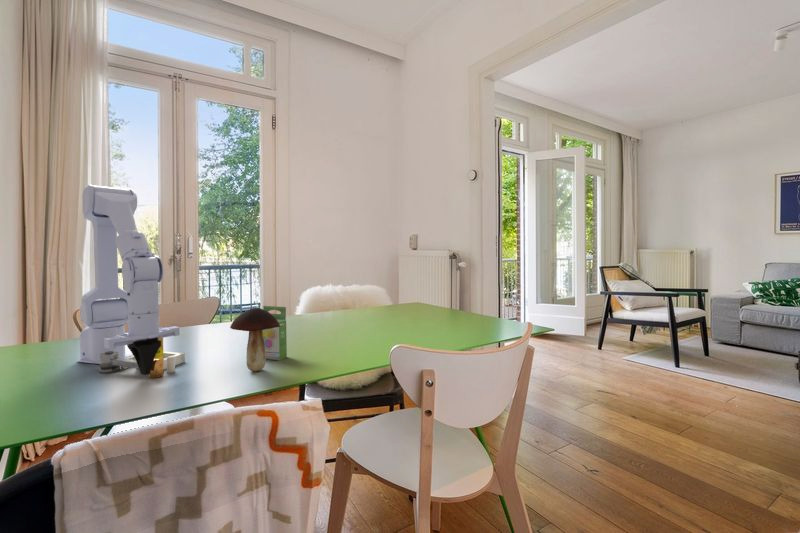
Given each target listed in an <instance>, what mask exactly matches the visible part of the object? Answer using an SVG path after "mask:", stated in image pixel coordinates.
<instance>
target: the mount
mask: <svg viewBox="0 0 800 533" xmlns="http://www.w3.org/2000/svg"><path fill="white" fill-rule="evenodd" d="M119 371H121V369H120V366H119V367H117V368H113V369H106V370H102V369H100V367H99V368H98V373H99V374H103V375H105V374H113V373H117V372H119Z"/></svg>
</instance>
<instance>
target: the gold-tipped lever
mask: <svg viewBox="0 0 800 533" xmlns="http://www.w3.org/2000/svg"><path fill="white" fill-rule="evenodd" d="M99 356H100V364H99V368H100V369H102V370H106V369H113V368H117V367H119V366H124V367H129V368H133V369H135V368H136V369H139V367H138V364H137V361H136V360H131V359H122V358H119V352H113V351H107V352H105V353H102V354H100V355H99ZM164 375H165V369H164V358H161V357H159V358H154V360H153V363H152V366H151V371H150V374H149V378H160V377H162V376H164Z"/></svg>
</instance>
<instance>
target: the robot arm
mask: <svg viewBox="0 0 800 533" xmlns="http://www.w3.org/2000/svg"><path fill="white" fill-rule="evenodd" d="M81 198H82V215H83V218H84V219H86V220H87V221H90V222H91V224H92V229H93V253H94V254H93V255H94V256H93V258H94V282H95V283H94V287H93V288H92V289H90V290H89V291H87V292H85V293H84V294H83V295H82V296H81V305H80V309H79V310H80V312H79V314H80V316H79V317H80V319H81V320H80V321H81V323H82V324H83V325H84V328H83V329H82V330H81V331H80V334H79V353H80V354H79V355H80V356H79V359H77V360H76V362H78V363H87V364H94V365H95V364H98V365H100V356H99V355H100V354H102V353H105V352H107V351H113V352H119V358H122V359H124V358H127V357H131V356H134V357H135V359H136V361H137V364H138V367H139V368H138V369H139V373H140V375H143V376H148V375H149V374H150V371H151V366H152V363H153V360H154V357H155V355H156V353H157V351H158V349H159V348H160V346H161V341H159V340H158V339H159V338H163V339H164V338H169V337H173V336H174V337H177V336H180V327H179V326H175V325H174V326H168V327H160V303H159V302H160V300H159V299H160V296H159V295H160V294H159V293H160V292H159V283H160V282H162V279H163V277H164V266H163V262H162V259H161V257H160V256H158V255H157V253H154V252H152V250H151V248H150V245H149V243H148V240H147V238H146V235H145V234H144V233H143V232H141V231H140V230H138V229H137V225H136V221H135V217H134V215H135V212H136V210H137V207H138V196H137V193H136V191H135V190H134V189H133V188H123V187H122V188H120V187H111V186H101V185H93V184H87V185H85V187H84V188H83V191H82V197H81ZM118 254H119V256H120V259H121V261H122V264H121V277H122V280H123V285H124V286H123V287H124V288H121V287H119V266H118V265H119V263H118V262H119V260H118V258H119V257H118ZM125 325H127V327H128V328H127V331H128V332H126V331H125ZM125 332H126V333H125ZM126 346H127V348H128V349H129V352H131V353H126Z"/></svg>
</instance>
